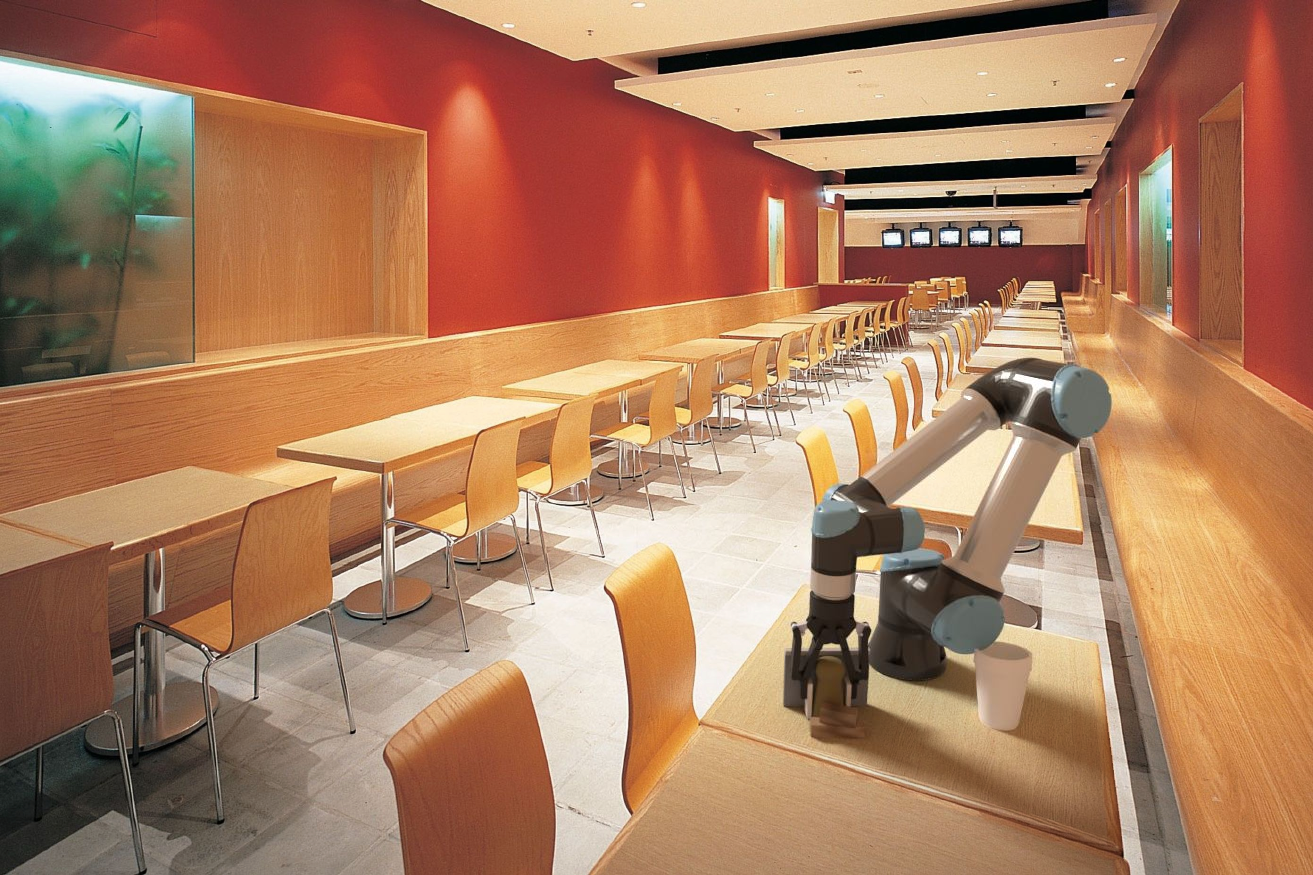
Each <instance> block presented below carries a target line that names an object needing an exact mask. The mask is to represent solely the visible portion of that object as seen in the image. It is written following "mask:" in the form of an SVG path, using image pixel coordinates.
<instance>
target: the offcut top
mask: <svg viewBox="0 0 1313 875" xmlns="http://www.w3.org/2000/svg"><path fill="white" fill-rule="evenodd" d="M858 712H859V708H858V707H856V706H854V707H853V706H850V707H849V706H843V705H838V704H832V703H826V702H822V704H821V707H820V719H819V722H821V723H827V724H832V725H838V726H843V727H849V728H854V729H855V728H856V724H857V719H858V715H859V714H858Z"/></svg>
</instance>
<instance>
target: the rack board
mask: <svg viewBox="0 0 1313 875" xmlns="http://www.w3.org/2000/svg"><path fill="white" fill-rule="evenodd" d="M808 650H809V647H802V648H801V657H800V666H799V671H801V668H802V666H803V663H804V660H805V658H806V655H807V653H808ZM791 651H792V647H785V648H784V654H783V655H784V661H783V662H784V664H783V684H782V685H783V687H782V688H783V692H782V705H783V707H805V699H801V696H800V693H799V690H800V689H799V688H800V681H798V680H792V678H791V675H790V671H789V670H790V660H791ZM849 651H850V654H851V657H852V661H853V664H854V667H855V671H857V670H859V656H858V647H849ZM824 656H833V657H836V658H839V659H840V660H842V662H843V663H844V666H845V674H844V677H849V675H848V671H847V668H846V665H845V661H844V658H843V655H842V651H841V648H840V647H823V648H822V650H821V651H820V653H819V655H818V658H817V660H818V659H819V658H821V657H824ZM868 660H869V662H870V649H869V647H868ZM844 677H843V678H842V691H843V688H844ZM810 678H811V681H812V684H813V689H812V702H813V697H814V692H815V687H816V681H817V675H816V673H815V666H814V668H813V671H812V674H811V676H810ZM869 678H870V677H869ZM869 678H868V679H867V680H860V681H859V685H857V697H856V699H851V706H850V707H853V706H854V707H858V706H863V707H865V706H867V705H868V695H869V694H868V693H869Z"/></svg>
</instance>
